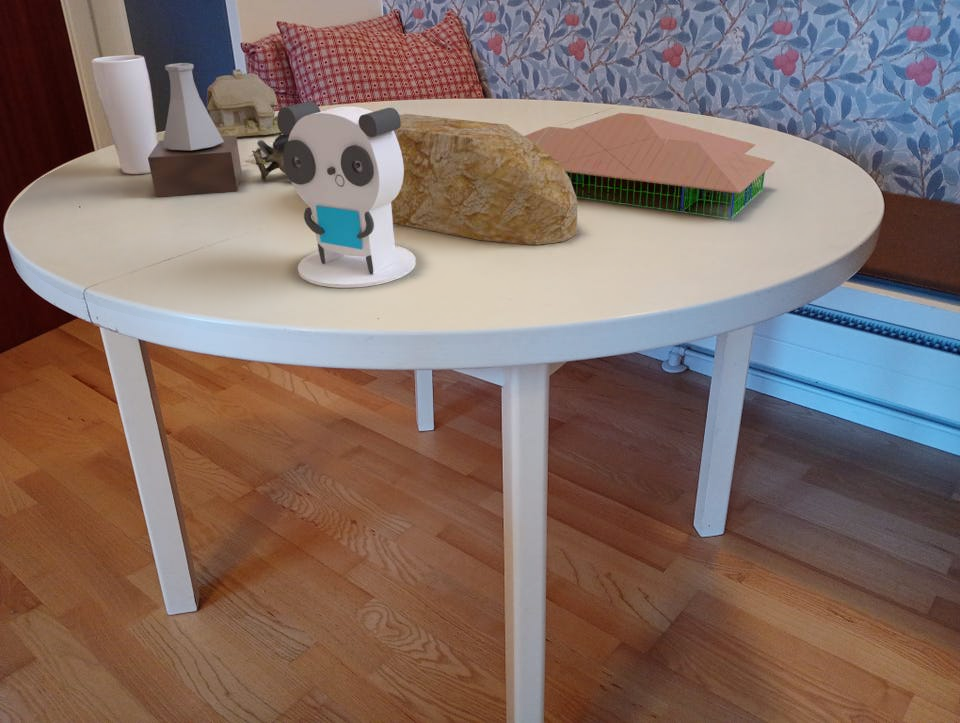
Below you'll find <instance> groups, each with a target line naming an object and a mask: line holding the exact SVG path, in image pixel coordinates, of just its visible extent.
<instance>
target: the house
mask: <svg viewBox="0 0 960 723" xmlns="http://www.w3.org/2000/svg"><path fill="white" fill-rule="evenodd" d="M523 136H524V137H526V138H527V139H529V140H530V141H531V142H533V143H534V144H535V145H537V146H538V147H539V148H541V149H542V150H543V151H545V152H546V153H547V154H549V155H550V156H551V157H553V158H554V159H556V161H557V162H558V163H559V165H560V166H561V167H562V168H563V170H564V171H565V172H566V174H567V175H568V173H569V175H570V176H569V178H570V181H571V183H572V184H576V185H578V184H579V185H582V186H588V192H590V189H591V188H590V187H591V186H592V183H591V176H595V177H601V183H603V181H604V180H603V179H604V178H607V186H606V185H598V187H600V188H601V189H600V190H601V192H600V199H596V194H597V178H595V180H594V181H595V182H594V184H593V186H594V198H590V196H588V197H584V191H582V193H581V194H582V195H581V196H578V186H576V189H575V195H576V198H577V199H584V200H585V199H586V200H593V201H600V202H607V203H614V204H620V205H629V206H635V207H643V208H649V209H656V210H663V211H671V212H677V213H685V214H692V215H699V216H700V215H701V216H707V217H714V218H722V219H727V220H728V219H729V220H732V219H733V217H735V216H736V215H737V214H739V213H740V211H741V210H742V209H743V208H744V207H745V206H747V205H748V204H749V203H750V202H751V201H752V200H754V198H755V197H756V196H757V195H759V194H760V193H761V192H762V191H763V188H764V181H765V175H766V171H767V170H768V169H770V168H771V167H772V166H773V165H774V164H775V163H776V162H775V161H774V160H770V159H766V158H761V157H757V156H754V155H750V154H746V153H747V152H749V151H751V149H753V148H754V147H755V146H756V144H755V143H751V142H747V141H744V140H740V139H736V138H733V137H729V136H725V135H720V134H717V133H715V132H710V131H706V130H701V129H698V128H695V127H690V126H687V125H682V124H679V123H675V122H671V121H667V120H664V119H660V118H656V117H652V116H649V115H646V114H645V115H644V114H637V113H629V112H628V113H627V112H618V113H616V114H613V115H609V116H607V117H603V118H600V119H597V120H594V121H591V122H588V123H585V124H582V125H579V126H576V127H573V128H569V127H568V128H567V127H559V126H547V127H544V128H541V129H538V130H536V131H533V132H531V133H528V134H525V135H523ZM573 174H575V177H573ZM585 175H587V176H588V184H587V183H584V181H585ZM610 178H612V179H614V181H616V179H618V180H619V179H620V187H616V183H614V186H613V200H615V198H616V197H615V196H616V195H615V194H616V189H617V190H621V191H626V199H628V196H629V191H631V192H632V191H633V193H635V192H638V193H639V202H642V201H641V199H642V193H646V198H648V195H649V194H652V195H655V194H656V195H660V196H659V206H661V204H662V203H661V202H662V196H666V204H668V202H669V193H667V194H664V193H662V191H663V185H667V192H669V190H670V186H674V192H676V189H677V187H678V191H677V195H676V193H673V194H670V196H672V197H673V203H675V201H676V197H677V200H679V197H680V198H681V200H680V210H678V208H679V201H677V203H676V210H675V204H673V205H672V209H668V205H666V207H665V208H661V207H655V206H654V205H655V196H653V198H652V206H648V199H646V201H645V202H646V203H645V205H641V204H635V194H633V197H632V203H628V201H626V203H625V202H622V192H620V195H619V202H617V201H610V200H609V194H607V195H606V196H607V197H606V200H603V188H607V191H609V189H612V187H610ZM572 180H575V182H573V181H572ZM623 180H627V183H629V182H630V181H633V189H630V188H629V184H627V187H626V188H625V189H624V188H622V186H623ZM636 182H640V188H642V186H643V185H642V184H643V182H645V183H647V184H649V183H652V184H654V185H653V188H654V189H653V192H649V185H647V187H646V188H647V189H646V191H645V190H642V189H640V190H635V188H636ZM656 184H658V185H660V192H656ZM680 187H682V188H681V189H682V190H681V195H680ZM700 190H701V191H700ZM714 191H715V192H716V195H715V196H714ZM700 192H701V196H702V197H703V198H700ZM708 192H709V195H707V193H708ZM722 192H723V196H721V193H722ZM729 193H730V195H729ZM718 194H719V196H718ZM725 194H726V197H725ZM706 197H709V199H706ZM713 198H715V200H713ZM721 199H722V201H721ZM725 199H726V201H725ZM728 200H729V202H728ZM699 201H703V206H705V204H706V201H707V202H711V203H710V204H711V205H710V211H709V214H705V207H703V210H702V213H697V212H698V211H697V210H698V205H696V207H695V212H691V205H693V204H694V203H696V204H698V202H699ZM713 203H718V205H717V214H716V215H712V207H713ZM720 204H725V209H724V210H725V211H724V215H726V214H727V204H729V205H730V212H729V217H726V216H719V210H720ZM686 209H688V211H685V210H686Z"/></svg>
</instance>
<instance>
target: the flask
mask: <svg viewBox="0 0 960 723" xmlns="http://www.w3.org/2000/svg"><path fill="white" fill-rule="evenodd" d="M194 68H195V66H194V64H193V63H189V62H178V63H170V64H166V65H164V69H165V71H167V72H168V76H169V77H168V78H169V82H170V83H169V84H170V88H169V89H170V99H169V106H168V113H167V119H166V122H165V123H166V124H165V128H164V129H165V130H164V134H163V138H162V139H163V145H162V146H163V147H166V148H168V149H170V150H196V149H202V148H209V147H213V146H216V145H218V144H220V143H222V142H224V141H223V139H222V137H221V135H220V133H219V131H218V130H217V128H216V126H215V125H214V123H213V121H212V119H211V117H210V113H209V112H208V110H207V107H206V106H205V104H204V102H203V101H202V99H201V97H200V94H199V92H198V89H197V86H196V84H195V81H194V76H193V75H194V74H193V70H194Z"/></svg>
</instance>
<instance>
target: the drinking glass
mask: <svg viewBox="0 0 960 723" xmlns="http://www.w3.org/2000/svg"><path fill="white" fill-rule="evenodd" d="M91 67H92V73H93V79H94V82H95V87H96V91H97V95H98V98H99V100H100V103H101V107H102V110H103V113H104V117H105V119H106V123H107V126H108V128H109V132H110V135H111V138H112V141H113V144H114V148H115V151H116V154H117V157H118V162H119V165H120V169H121V171H122V172H123V173H125V174H128V175H144V174H151V171H150V166H149V161H148V157H149V155H150V154H151V152H152V151H153V149H154V148H155V147H156V145H157V144H158V142H159V141H158V135H157V126H156V119H155V110H154V100H153V92H152V86H151V80H150V75H149V70H148V67H147V63H146V59H145V56H144V55H139V54H125V55H124V54H123V55H111V56H110V55H109V56H102V57H96V58H92V59H91Z"/></svg>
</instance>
